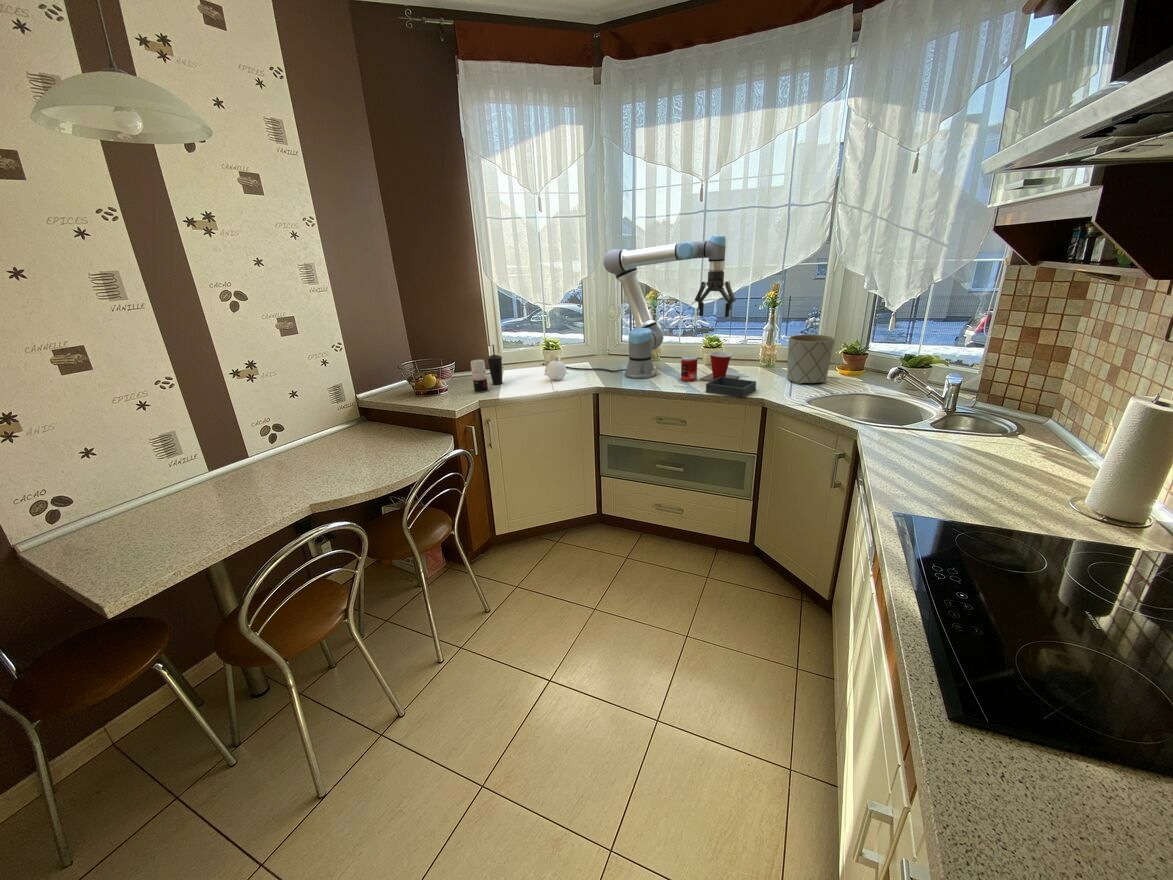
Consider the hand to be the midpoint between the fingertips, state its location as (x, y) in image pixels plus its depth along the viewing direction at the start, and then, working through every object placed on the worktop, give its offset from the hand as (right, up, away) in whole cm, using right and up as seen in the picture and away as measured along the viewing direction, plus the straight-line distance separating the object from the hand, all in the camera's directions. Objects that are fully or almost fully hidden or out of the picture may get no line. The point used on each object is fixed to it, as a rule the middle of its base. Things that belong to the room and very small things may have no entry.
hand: (713, 316), depth 234 cm
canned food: (-12, -31, +2) cm, 33 cm away
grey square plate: (+3, -30, +1) cm, 31 cm away
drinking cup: (-109, -31, +12) cm, 114 cm away
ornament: (-78, -30, +13) cm, 85 cm away
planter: (+41, -33, -10) cm, 53 cm away
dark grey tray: (+2, -39, -21) cm, 44 cm away
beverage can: (-114, -37, 0) cm, 120 cm away
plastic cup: (+3, -30, +1) cm, 30 cm away
